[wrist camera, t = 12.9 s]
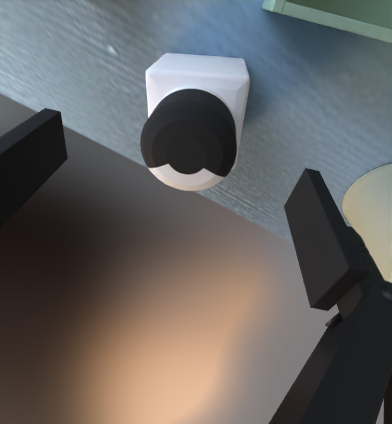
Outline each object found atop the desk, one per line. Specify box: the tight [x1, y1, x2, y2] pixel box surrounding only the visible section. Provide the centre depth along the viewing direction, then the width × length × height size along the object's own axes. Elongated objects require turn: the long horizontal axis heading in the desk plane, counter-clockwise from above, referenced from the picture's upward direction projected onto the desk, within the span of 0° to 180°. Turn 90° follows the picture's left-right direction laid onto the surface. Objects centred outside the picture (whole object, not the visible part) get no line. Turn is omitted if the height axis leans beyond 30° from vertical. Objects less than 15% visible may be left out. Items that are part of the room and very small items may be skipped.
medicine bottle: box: [140, 53, 250, 191], centre depth 20 cm, size 7×7×12 cm
